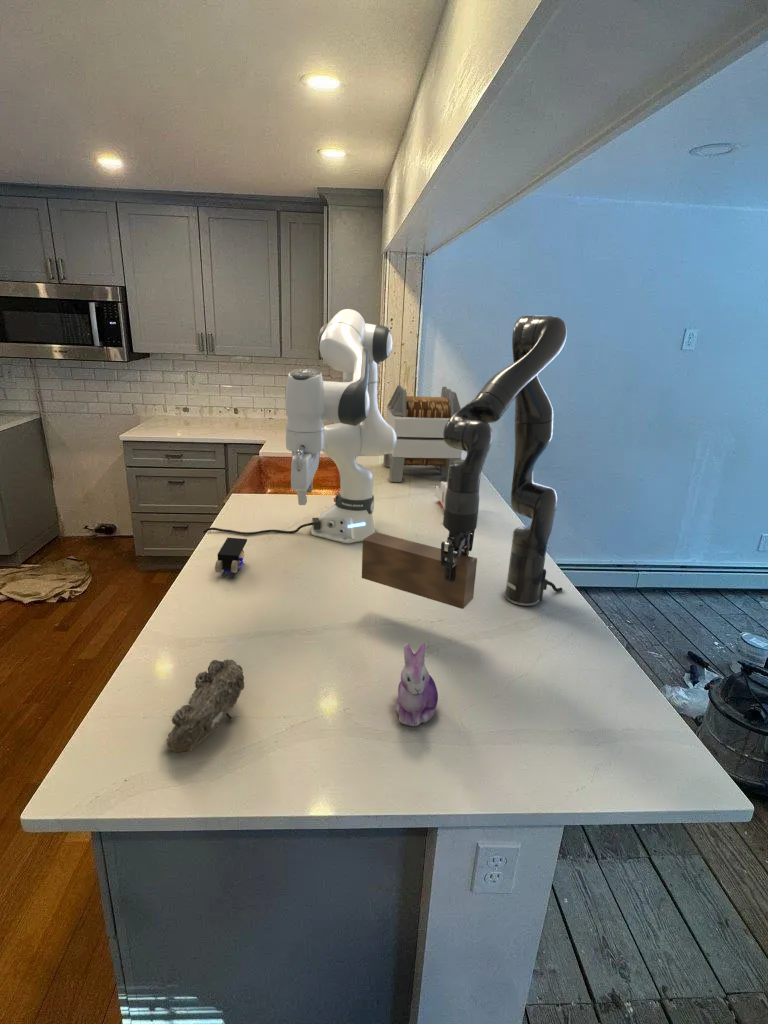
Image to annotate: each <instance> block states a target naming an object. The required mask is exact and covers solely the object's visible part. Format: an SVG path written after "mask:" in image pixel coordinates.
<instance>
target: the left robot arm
mask: <svg viewBox="0 0 768 1024" xmlns="http://www.w3.org/2000/svg"><path fill="white" fill-rule="evenodd" d="M317 342H318V350H319V353H320V356H321V359H322V360H323V361H324V362H325V364H326V365H327V366H328V367H330V368H331V369H333V370H334V371H338V372H342V381H329V380H324V379H323V374H322V372H321V371H320V370H318V369H316V368H311V367H302V368H296V369H293V370H291V371H290V372H289V373H288V375H287V379H286V386H285V412H286V416H287V419H286V423H285V424H286V425H285V449H286V450H288V451H289V452H291V465H290V466H291V467H290V488H291V490H292V491H293V492H296V495H297V503H298V505H299V506H305V505H307V502H308V497H307V493H309V494H311V493H312V492H313V483H314V478H315V475H316V473H317V471H318V469H319V464H320V456H321V452H323V454H325V455H326V456H328V457H329V458H330V459H331V460H332V462H333V463H334V464H335V466H336V467H337V470H338V474H339V483H340V484H339V485H340V488H339V489H340V490H339V491H338V492H337V494H336V495H335V496H334V497H333V502H334V504H333V505H331V506H329V507H328V508H326V509H325V510H323V512H321V514H320V515H319V517H312V518H311V522H307V523H303V524H302V525H299V526H297V528H296V529H293V530H281V529H264V530H258V531H249V532H248V531H238V530H232V529H224V528H218V527H208V528H207V527H206V528H205V529H204V530H203V531H202V533H203V534H206V533H207V532H209V531H217V532H223V533H230V534H236V535H244V536H250V535H251V536H252V535H259V534H266V533H280V534H296V533H297V532H299V531H300V530H301V529H302V528H305V527H310V526H312V528H311V530H310V533H311V536H315V537H319V538H323V539H326V540H330V541H336V542H339V543H343V544H352V543H357V542H363V539H365V538H366V537H368V536H370V535H371V534H373V533H375V532H376V528H375V523H374V513H373V512H374V509H375V496H374V474H373V472H372V471H371V469H369V468H368V467H366V466H364V465H362V464H360V463H359V462H357V458H358V457H380V456H384V455H385V454H389V453H391V452H392V451H393V450H394V448H395V446H396V442H397V437H396V433H395V431H394V429H393V428H392V427H391V426H390V425H389V424H388V423H387V422H386V419H384V417H383V416H382V414H381V412H380V408H379V406H378V404H379V403H378V380H379V379H378V378H379V377H378V372H379V371H378V365H380V364H381V363H382V362H384V361H386V360H387V359H388V358H389V357H390V354H391V352H392V349H393V336H392V333H391V330H390V328H389V327H388V326H386V325H382V324H379V323H378V324H372V323H367V322H366V321H365V318H364V317H363V316H362V314H361V313H360V312H358V311H357V310H355V309H353V308H344V309H341V310H339V311H338V312H336V314H335V315H334V316H333V317H332V318H331V319H330V320H329V322H327V323H324V324H323V326H322V327H320V329H319V333H318V337H317ZM324 423H330V424H326V425H325V424H324Z"/></svg>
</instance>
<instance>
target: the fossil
mask: <svg viewBox="0 0 768 1024" xmlns="http://www.w3.org/2000/svg"><path fill="white" fill-rule="evenodd" d="M243 670H244V669H243V667H242V665H240V664H237V662H236V661H235V660H234V659H232V658H231V659H227V658H226V659H224V660H223V661H222V660H217V659H212V660H211V661H210V663H209V665H208V666H207V671H201V672H199V673H198V674H197V675H196V676H195V680H194V684H195V685H194V687H195V689H194V690H193V693H192V694H191V697H190V698H189V700H188V704H184V705H182V706H181V707H180V709H177V710H176V711H175V713H174V715H173V716H172V718H171V723H172V724H173V727H172V730H171V731H170V732H168V734H167V738H166V741H167V742H166V745H167V749H168V750H169V751H173V752H174V753H176V754H178V753H182V752H188V751H189V752H192V751H193V750H195V748H196V747H197V746H199V744H200V743H201V742H203V741H204V740H205V739H206V738H207V737H208V736H209V735H210V734H211V733H212V732H214V730H215V729H217V727H218V726H219V724H220V722H221V721H222V720H223V719H224V718H225V716H226V717H227V719H229V720H233V717H232V715H230V714H229V710H230V709H231V708H234V706H235V704H236V703H237V702H238V699H239V697H240V695H241V693H242V691H243V690H245V689H244V688H245V675H244V671H243Z"/></svg>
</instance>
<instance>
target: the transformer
mask: <svg viewBox="0 0 768 1024" xmlns="http://www.w3.org/2000/svg"><path fill="white" fill-rule="evenodd" d="M440 393H441V394H440V396H415V395H414V396H413V395H412V396H411V395H407V394H408V393H407V390H406V389H404V388H403V387H402V385H399V384H398V385H397V386H396V388H395V390H394V392H393V394H392V395H391V398H390V400H389V402H388V404H387V405H386V413H385V414H386V415H385V421H386V422H387V423H388V424H389V425H390V426H391V427H392V428H393V429H394V431H395V433H396V437H397V442H396V446H395V448H394V450H393V451H392V452H391V453H389V454H385V455H383V466H384V467H388V468H389V475H388V476H389V477H388V478H389V480H390V482H391V483H402V482H403V475H404V469H405V466H406V467H407V466H411V467H412V466H413V467H415V466H416V467H417V466H418V467H436V468H437V470H438V469H439V473H440V474H441V475H443V478H444V479H445V482H448V471H449V466H450V464H451V463H452V462H453V461H456V460H463V459H462V453H463V450H458V449H454V448H451V447H449V446H448V445H447V444H446V443H445V441H444V438H443V432H444V428H445V425H446V423H447V422H448V420H449V419H450V418H451V417H452V416H453V415H454V414H455V413H456V412H457V411H459V410H460V409H461V408H462V407H461V405H460V402H459V398H458V395H457V392H455V391H453V390H452V389H451V388H447V386H442V387H441V392H440Z"/></svg>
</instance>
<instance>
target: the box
mask: <svg viewBox="0 0 768 1024" xmlns="http://www.w3.org/2000/svg"><path fill="white" fill-rule="evenodd" d="M361 552H362V554H361V579H364V580H366V581H369V582H373V583H377V584H380V585H383V586H387V587H389V588H392V589H396V590H399V591H403V592H406V593H409V594H411V595H416V596H418V597H422V598H425V599H428V600H432V601H435V602H438V603H442V604H445V605H447V606H451V607H454V608H458V609H461V610H464V609H465V608H466V607H467V606H468V604H470V602H472V600H474V594H475V585H476V574H477V565H478V557H474V556H470V555H468V556H467V555H463V554H461V556H460V558H458V559H457V562H456V566H455V578H454V581H453V582H449V581H446V580H445V579H444V576H445V566H442V565H441V548H439V547H437V546H431V545H428V544H423V543H420V542H416V541H412V540H409V539H404V538H401V537H397V536H393V535H389V534H385V533H381V532H378V531H375V533H373V534H371V535H370V536H368V537H366V538H365V539H363V541H362V549H361ZM453 553H455V554H456V553H457V552H455V551H453ZM453 559H454V557H453Z"/></svg>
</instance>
